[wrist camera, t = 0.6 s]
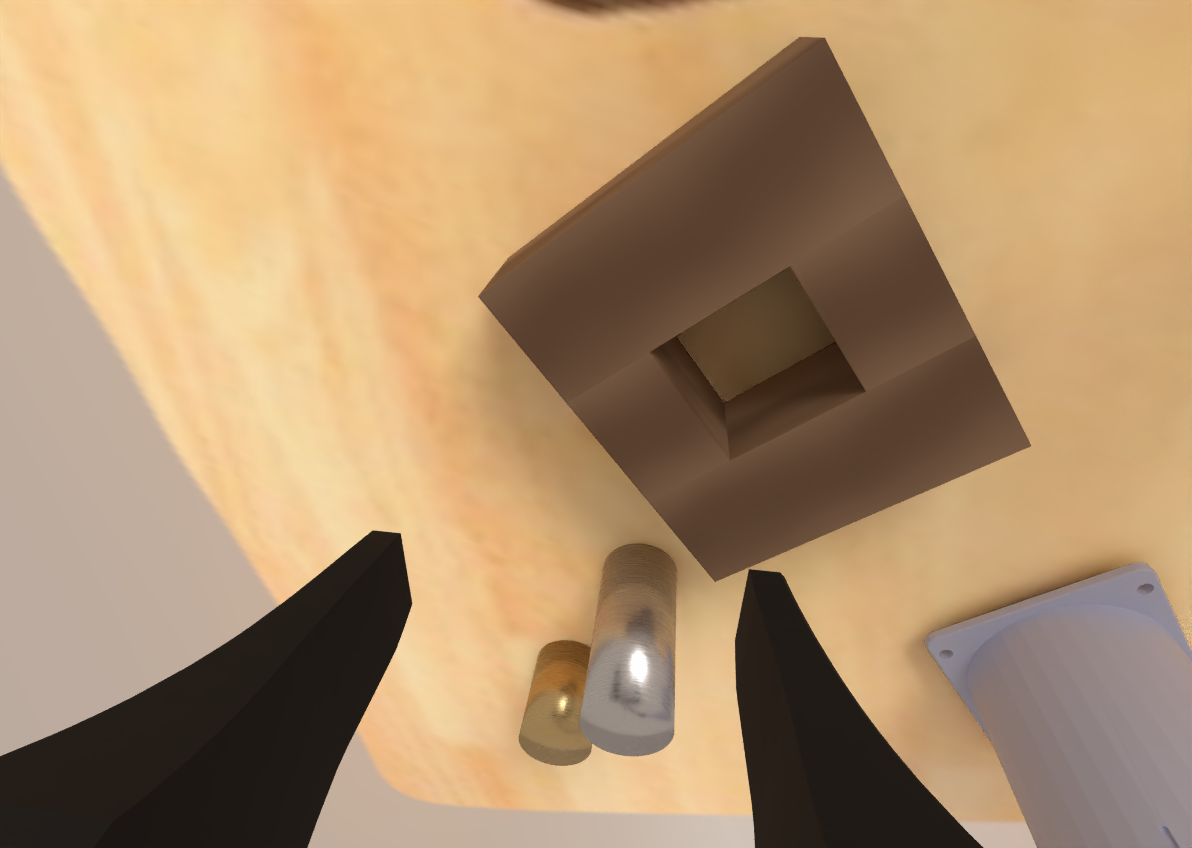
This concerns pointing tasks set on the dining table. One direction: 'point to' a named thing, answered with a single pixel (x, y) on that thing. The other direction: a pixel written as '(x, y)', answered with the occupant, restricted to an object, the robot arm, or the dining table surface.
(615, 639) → the steel pin
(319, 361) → the dining table surface
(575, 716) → the brass pin
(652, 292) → the walnut block
